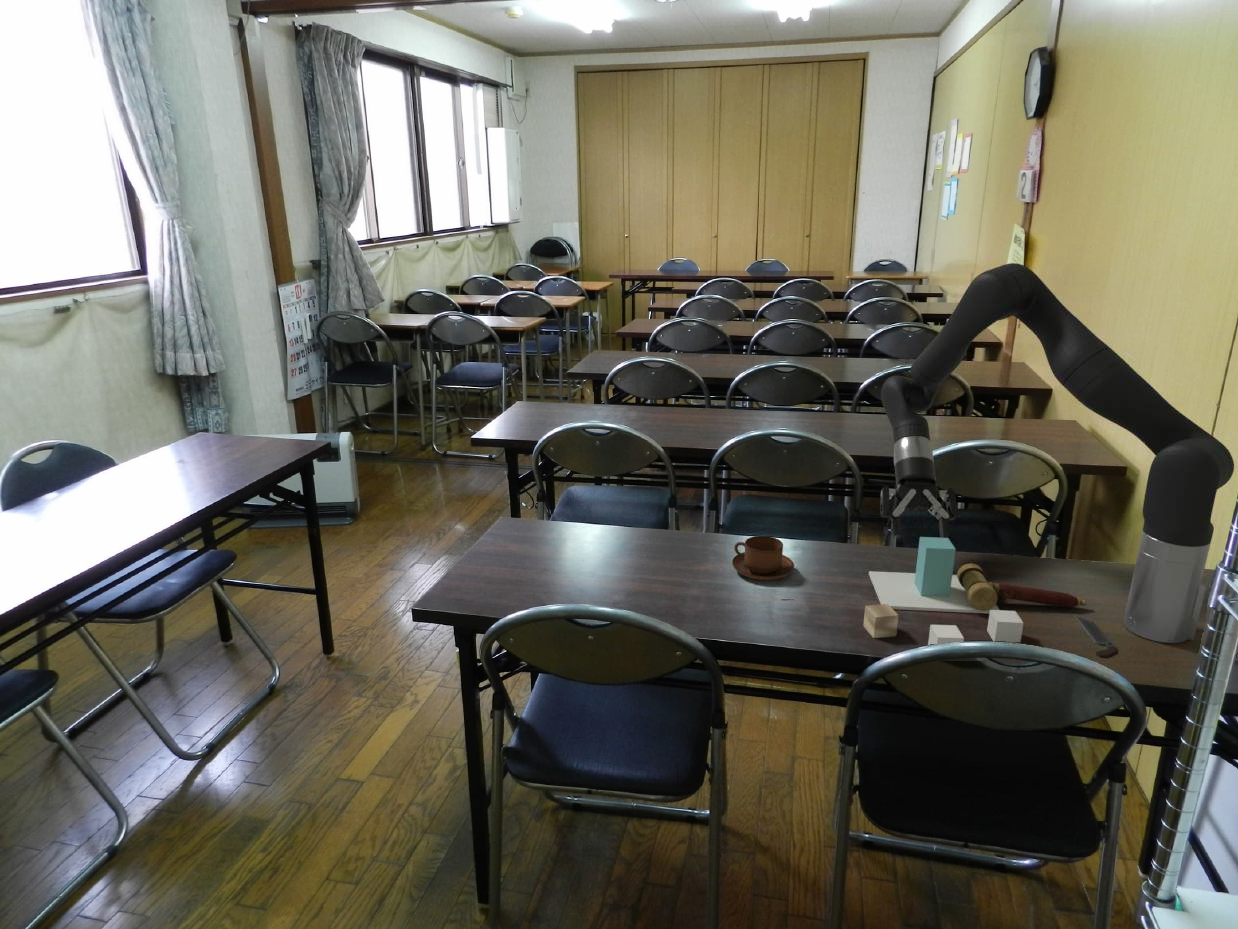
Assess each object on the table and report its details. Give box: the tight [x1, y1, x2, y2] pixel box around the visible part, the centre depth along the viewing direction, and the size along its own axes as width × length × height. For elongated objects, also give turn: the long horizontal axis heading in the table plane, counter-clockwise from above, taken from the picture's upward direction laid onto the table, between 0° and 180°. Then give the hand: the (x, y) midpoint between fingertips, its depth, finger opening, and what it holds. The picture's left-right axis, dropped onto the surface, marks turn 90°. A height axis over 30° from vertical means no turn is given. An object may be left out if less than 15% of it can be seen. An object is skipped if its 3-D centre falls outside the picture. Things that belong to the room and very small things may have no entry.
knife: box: [1073, 614, 1118, 659], centre depth 133 cm, size 14×4×1 cm, turn 171°
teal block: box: [915, 536, 957, 597], centre depth 147 cm, size 5×5×10 cm
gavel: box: [956, 562, 1087, 611], centre depth 143 cm, size 21×5×10 cm
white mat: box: [868, 570, 1000, 615], centre depth 148 cm, size 20×14×1 cm
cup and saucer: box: [731, 535, 795, 581], centre depth 157 cm, size 12×12×6 cm
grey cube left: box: [986, 609, 1024, 643], centre depth 133 cm, size 4×4×4 cm
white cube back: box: [927, 624, 965, 646], centre depth 128 cm, size 4×4×4 cm
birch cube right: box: [863, 603, 899, 639], centre depth 135 cm, size 4×4×4 cm
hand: (921, 538), depth 155 cm, fingers open, 8 cm apart
